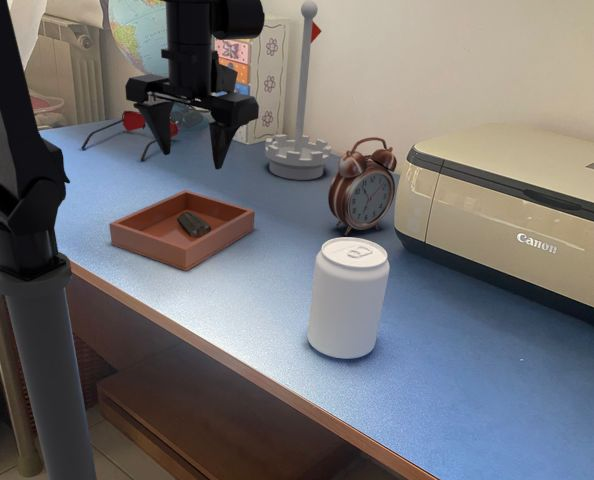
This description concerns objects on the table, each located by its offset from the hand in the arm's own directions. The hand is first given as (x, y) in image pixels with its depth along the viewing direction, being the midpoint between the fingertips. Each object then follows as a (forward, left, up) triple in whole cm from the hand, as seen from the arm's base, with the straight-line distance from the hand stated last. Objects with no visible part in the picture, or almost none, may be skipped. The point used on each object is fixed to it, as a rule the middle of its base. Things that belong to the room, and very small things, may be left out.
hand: (192, 161), depth 85 cm
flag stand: (+37, +2, -11) cm, 39 cm away
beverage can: (-14, -32, -11) cm, 37 cm away
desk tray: (-2, 0, -11) cm, 11 cm away
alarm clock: (+18, -20, -11) cm, 29 cm away
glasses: (+27, +36, -11) cm, 46 cm away
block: (0, 0, -11) cm, 11 cm away
